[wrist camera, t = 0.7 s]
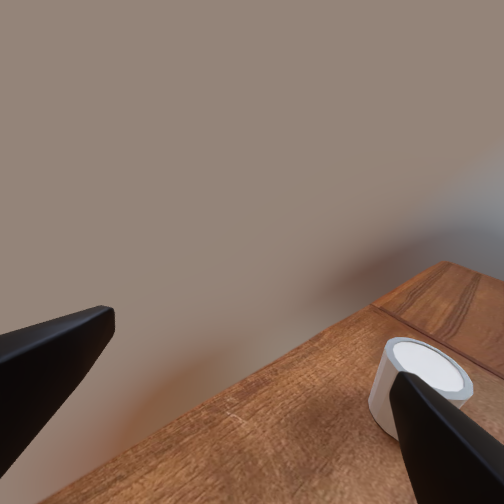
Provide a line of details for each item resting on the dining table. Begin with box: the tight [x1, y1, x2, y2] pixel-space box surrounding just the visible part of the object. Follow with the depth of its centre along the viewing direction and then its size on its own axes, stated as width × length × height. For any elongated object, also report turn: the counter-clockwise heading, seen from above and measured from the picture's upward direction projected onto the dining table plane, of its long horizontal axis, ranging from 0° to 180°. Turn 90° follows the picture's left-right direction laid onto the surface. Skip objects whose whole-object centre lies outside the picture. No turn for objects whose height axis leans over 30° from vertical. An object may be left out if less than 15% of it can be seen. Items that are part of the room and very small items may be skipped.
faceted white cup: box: [368, 337, 473, 441], centre depth 24 cm, size 7×7×7 cm
